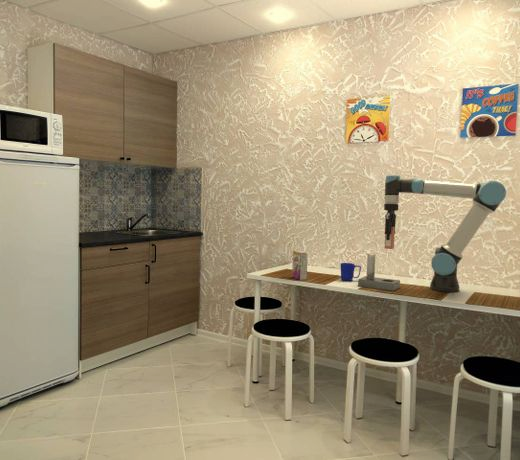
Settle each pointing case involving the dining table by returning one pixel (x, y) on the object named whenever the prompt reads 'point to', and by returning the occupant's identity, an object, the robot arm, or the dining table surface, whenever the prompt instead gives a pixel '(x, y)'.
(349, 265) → the mug
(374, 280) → the gray socket post base
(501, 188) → the robot arm
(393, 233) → the orange rectangular block
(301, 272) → the candy bar box
